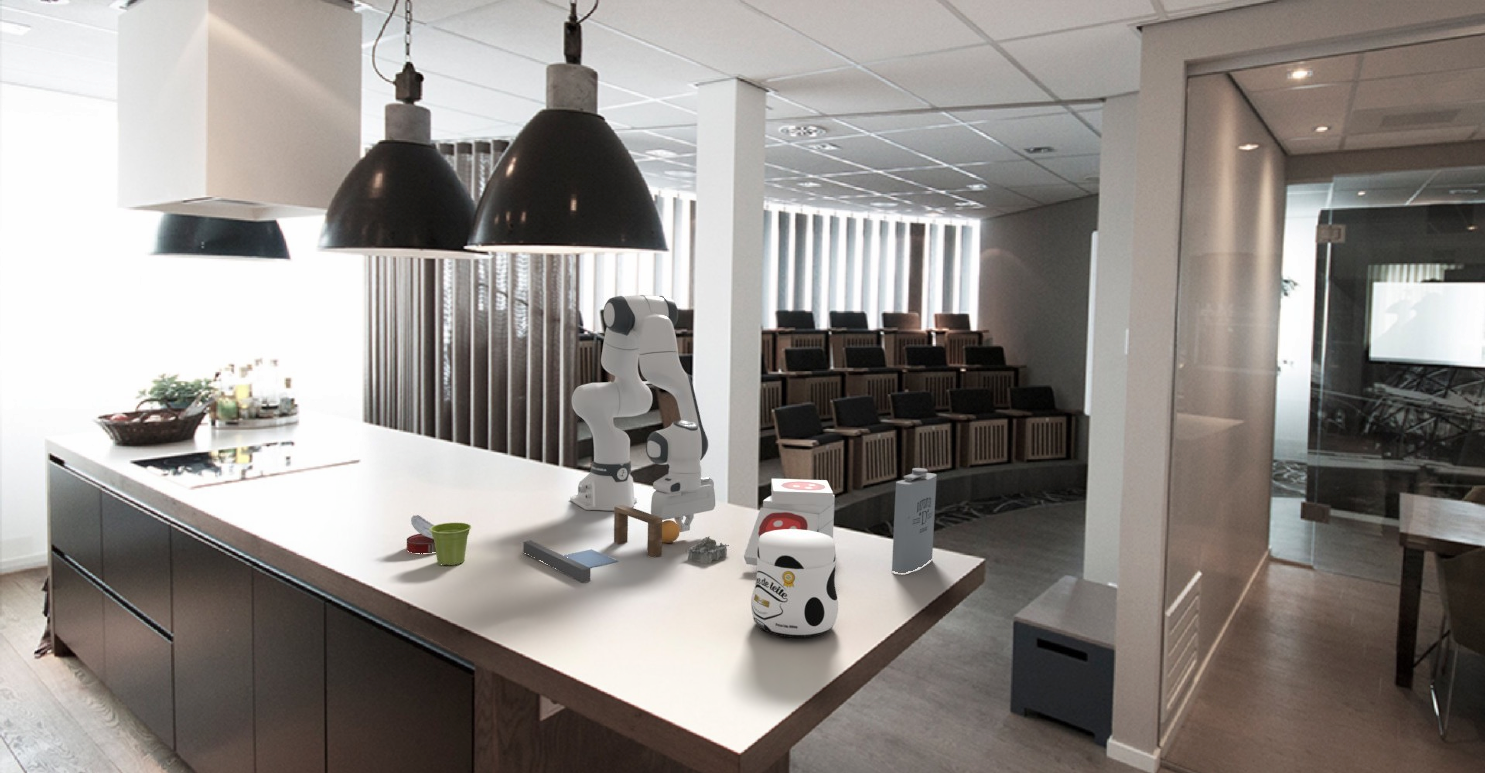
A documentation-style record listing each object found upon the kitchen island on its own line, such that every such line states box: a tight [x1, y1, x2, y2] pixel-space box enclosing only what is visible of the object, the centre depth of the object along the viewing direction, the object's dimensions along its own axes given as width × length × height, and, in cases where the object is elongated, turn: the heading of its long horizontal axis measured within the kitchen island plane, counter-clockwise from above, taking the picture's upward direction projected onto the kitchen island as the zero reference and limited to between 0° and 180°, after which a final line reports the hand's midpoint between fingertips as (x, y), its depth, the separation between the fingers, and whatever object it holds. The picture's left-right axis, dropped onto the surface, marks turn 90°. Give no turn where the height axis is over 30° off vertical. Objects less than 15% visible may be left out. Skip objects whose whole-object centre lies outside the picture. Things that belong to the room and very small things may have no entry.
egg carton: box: [685, 535, 730, 564], centre depth 207 cm, size 11×8×4 cm
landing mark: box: [563, 548, 619, 569], centre depth 201 cm, size 12×12×1 cm
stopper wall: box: [522, 539, 592, 584], centre depth 196 cm, size 28×2×3 cm, turn 43°
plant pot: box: [430, 522, 472, 566], centre depth 196 cm, size 9×9×9 cm
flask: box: [891, 467, 938, 573], centre depth 203 cm, size 17×5×25 cm, turn 143°
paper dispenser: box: [743, 478, 836, 566], centre depth 206 cm, size 19×30×18 cm, turn 159°
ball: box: [662, 519, 681, 544], centre depth 218 cm, size 6×6×6 cm
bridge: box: [613, 505, 663, 558], centre depth 212 cm, size 3×17×10 cm, turn 43°
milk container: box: [750, 529, 839, 638], centre depth 162 cm, size 17×17×18 cm
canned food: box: [406, 514, 436, 554], centre depth 207 cm, size 11×10×10 cm
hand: (683, 530), depth 222 cm, fingers closed
